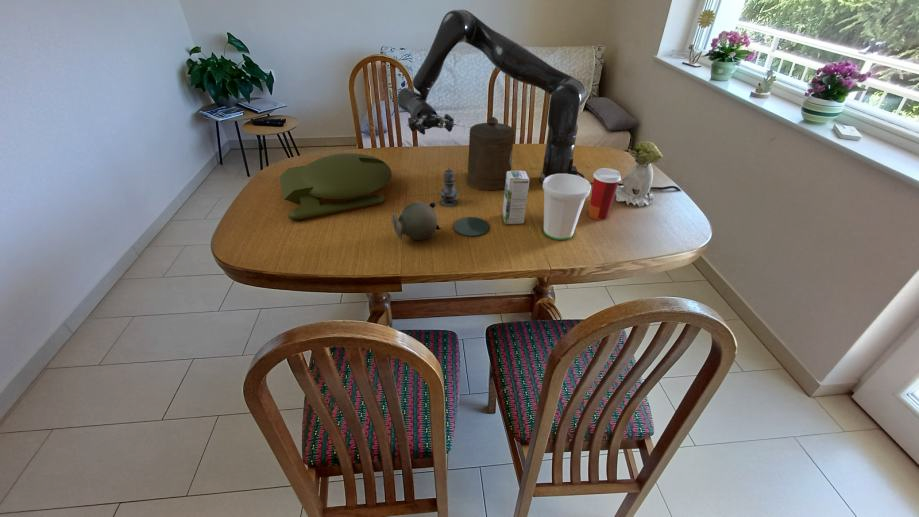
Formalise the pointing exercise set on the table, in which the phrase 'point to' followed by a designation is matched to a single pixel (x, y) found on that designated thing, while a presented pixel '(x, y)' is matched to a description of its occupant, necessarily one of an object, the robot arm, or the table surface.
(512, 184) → the syrup box
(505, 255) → the table surface
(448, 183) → the stone chess piece
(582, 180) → the cup
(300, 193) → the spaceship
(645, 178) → the white green figurine
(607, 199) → the paper cup
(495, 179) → the wooden container
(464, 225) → the coaster
